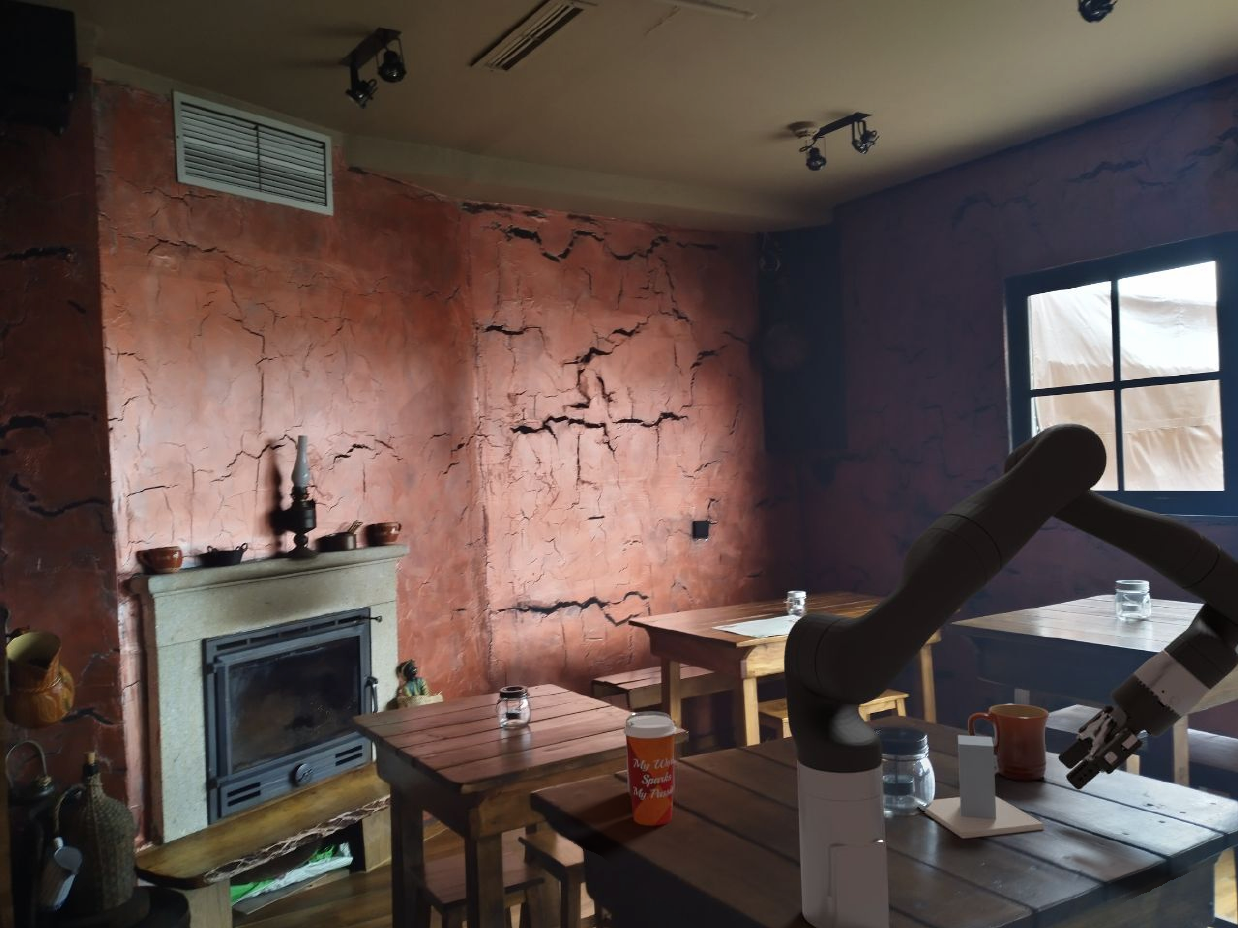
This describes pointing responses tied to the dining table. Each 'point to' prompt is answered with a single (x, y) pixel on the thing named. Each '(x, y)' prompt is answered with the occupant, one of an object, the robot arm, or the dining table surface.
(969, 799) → the block
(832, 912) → the robot arm
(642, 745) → the paper cup
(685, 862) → the dining table surface
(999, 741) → the mug
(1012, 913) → the dining table surface
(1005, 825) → the tile
